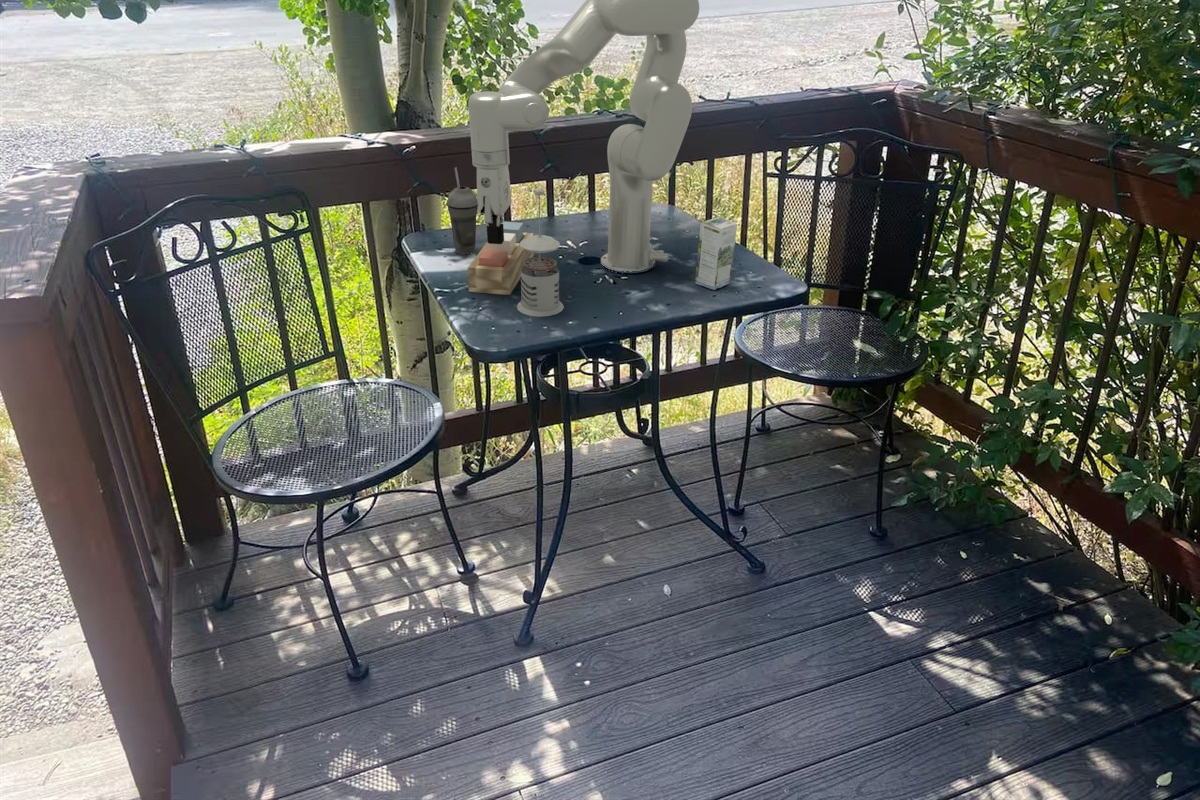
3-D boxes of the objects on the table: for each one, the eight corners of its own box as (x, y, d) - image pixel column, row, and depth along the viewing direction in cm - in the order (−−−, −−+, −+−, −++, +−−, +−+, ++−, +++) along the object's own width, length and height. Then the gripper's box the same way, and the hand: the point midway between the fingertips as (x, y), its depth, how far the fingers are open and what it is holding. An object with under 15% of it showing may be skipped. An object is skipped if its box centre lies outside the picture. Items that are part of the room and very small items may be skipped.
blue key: (523, 239, 206) (523, 222, 204) (518, 246, 201) (518, 230, 199) (502, 237, 206) (502, 221, 204) (497, 245, 202) (496, 228, 200)
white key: (516, 250, 199) (515, 233, 197) (510, 258, 195) (510, 241, 193) (494, 249, 200) (493, 232, 198) (488, 256, 196) (488, 239, 194)
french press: (525, 319, 178) (523, 198, 166) (507, 297, 188) (504, 181, 175) (571, 312, 182) (572, 193, 169) (550, 291, 191) (550, 176, 179)
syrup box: (710, 277, 200) (716, 215, 193) (731, 285, 197) (737, 222, 189) (694, 284, 197) (699, 221, 189) (714, 292, 193) (721, 228, 186)
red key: (508, 268, 193) (507, 251, 191) (502, 277, 189) (502, 259, 187) (486, 266, 194) (485, 249, 192) (479, 275, 190) (479, 257, 188)
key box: (534, 255, 209) (533, 233, 207) (509, 295, 189) (509, 270, 186) (497, 252, 210) (496, 230, 208) (468, 291, 190) (467, 267, 187)
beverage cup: (478, 257, 207) (474, 172, 197) (447, 256, 207) (441, 171, 197) (482, 246, 214) (479, 164, 204) (452, 245, 214) (447, 163, 204)
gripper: (499, 167, 172) (504, 256, 182) (517, 147, 185) (521, 231, 194) (462, 166, 173) (469, 254, 183) (482, 146, 186) (488, 229, 195)
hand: (496, 242), depth 189 cm, fingers closed
